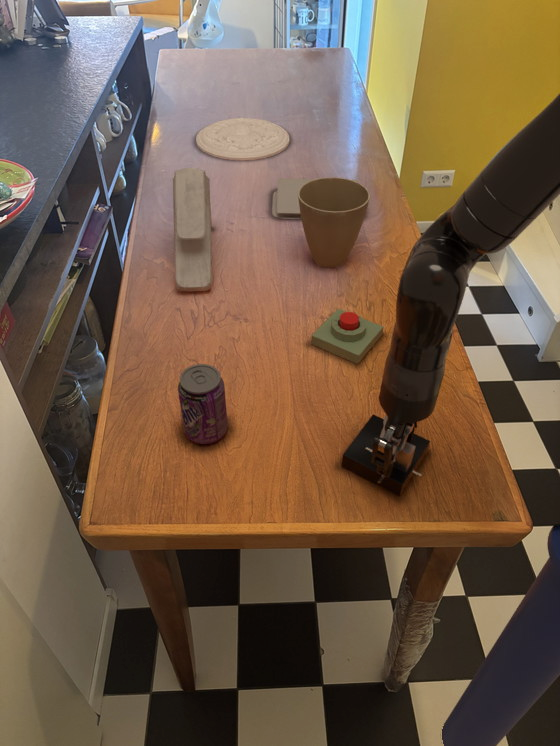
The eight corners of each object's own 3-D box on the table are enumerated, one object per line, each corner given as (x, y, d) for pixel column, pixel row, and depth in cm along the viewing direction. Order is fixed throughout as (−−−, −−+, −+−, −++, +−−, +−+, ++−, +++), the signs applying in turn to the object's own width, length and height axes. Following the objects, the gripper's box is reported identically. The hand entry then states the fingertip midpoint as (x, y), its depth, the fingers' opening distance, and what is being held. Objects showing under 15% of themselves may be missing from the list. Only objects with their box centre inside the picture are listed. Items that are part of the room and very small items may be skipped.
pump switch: (382, 335, 116) (384, 319, 114) (357, 364, 110) (359, 348, 108) (337, 316, 120) (338, 300, 118) (311, 344, 114) (312, 327, 112)
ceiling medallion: (296, 157, 173) (296, 146, 171) (198, 162, 170) (197, 151, 168) (282, 119, 193) (282, 109, 191) (194, 123, 190) (193, 113, 188)
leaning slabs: (184, 308, 142) (172, 285, 119) (182, 207, 144) (169, 165, 121) (217, 307, 142) (210, 283, 119) (214, 207, 145) (207, 165, 122)
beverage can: (178, 422, 100) (169, 370, 91) (217, 408, 102) (212, 356, 94) (193, 453, 95) (186, 400, 87) (234, 437, 98) (231, 385, 89)
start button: (361, 323, 113) (362, 316, 112) (352, 333, 111) (353, 326, 110) (345, 316, 115) (345, 309, 113) (335, 326, 113) (336, 319, 111)
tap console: (436, 457, 95) (440, 444, 93) (404, 509, 88) (408, 497, 86) (370, 426, 100) (373, 413, 97) (336, 473, 93) (337, 460, 90)
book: (273, 189, 159) (273, 175, 156) (360, 190, 159) (361, 176, 156) (271, 218, 148) (271, 204, 145) (365, 220, 148) (366, 206, 145)
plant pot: (313, 235, 143) (317, 171, 132) (371, 252, 138) (380, 187, 127) (283, 266, 133) (285, 200, 122) (345, 285, 128) (352, 218, 117)
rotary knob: (410, 465, 90) (416, 445, 87) (405, 473, 89) (410, 453, 86) (380, 450, 92) (384, 430, 89) (375, 458, 91) (379, 438, 88)
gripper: (415, 425, 73) (395, 504, 84) (459, 359, 81) (436, 439, 93) (360, 400, 76) (348, 479, 87) (409, 338, 84) (392, 418, 96)
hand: (393, 458), depth 90 cm, fingers open, 6 cm apart
